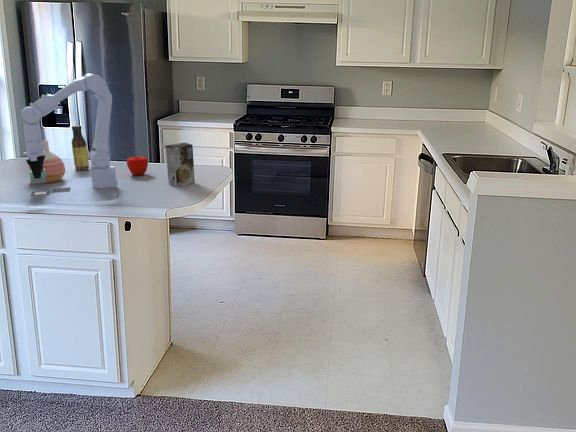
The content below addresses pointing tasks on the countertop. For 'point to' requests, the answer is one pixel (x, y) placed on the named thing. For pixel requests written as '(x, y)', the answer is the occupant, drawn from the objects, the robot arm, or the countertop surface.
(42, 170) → the housing
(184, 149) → the coffee box
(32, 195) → the stand
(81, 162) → the sauce bottle
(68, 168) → the countertop surface
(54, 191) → the stand
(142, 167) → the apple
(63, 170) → the vase
